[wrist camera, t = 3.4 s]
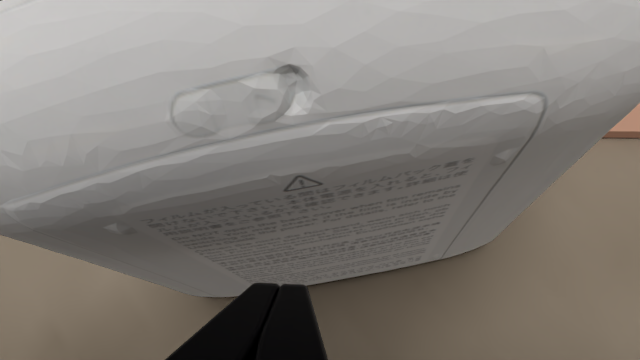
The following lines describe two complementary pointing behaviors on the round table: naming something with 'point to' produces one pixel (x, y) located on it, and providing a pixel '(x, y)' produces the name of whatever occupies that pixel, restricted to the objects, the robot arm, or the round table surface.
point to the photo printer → (296, 128)
